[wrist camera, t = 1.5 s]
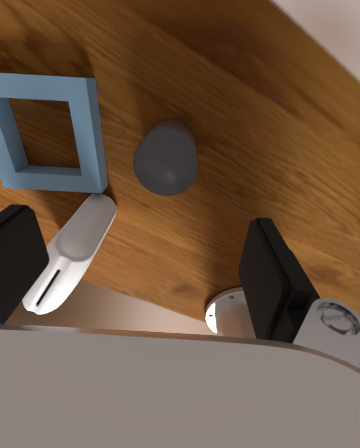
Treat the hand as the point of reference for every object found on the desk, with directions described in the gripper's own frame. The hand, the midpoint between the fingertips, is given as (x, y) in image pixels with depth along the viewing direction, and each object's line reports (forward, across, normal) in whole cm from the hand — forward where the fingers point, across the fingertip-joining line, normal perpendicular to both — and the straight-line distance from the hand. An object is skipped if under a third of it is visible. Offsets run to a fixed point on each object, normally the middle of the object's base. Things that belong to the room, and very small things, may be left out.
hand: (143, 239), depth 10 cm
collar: (+18, +13, 0) cm, 22 cm away
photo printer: (+18, +10, +11) cm, 24 cm away
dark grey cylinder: (+18, 0, 0) cm, 18 cm away
